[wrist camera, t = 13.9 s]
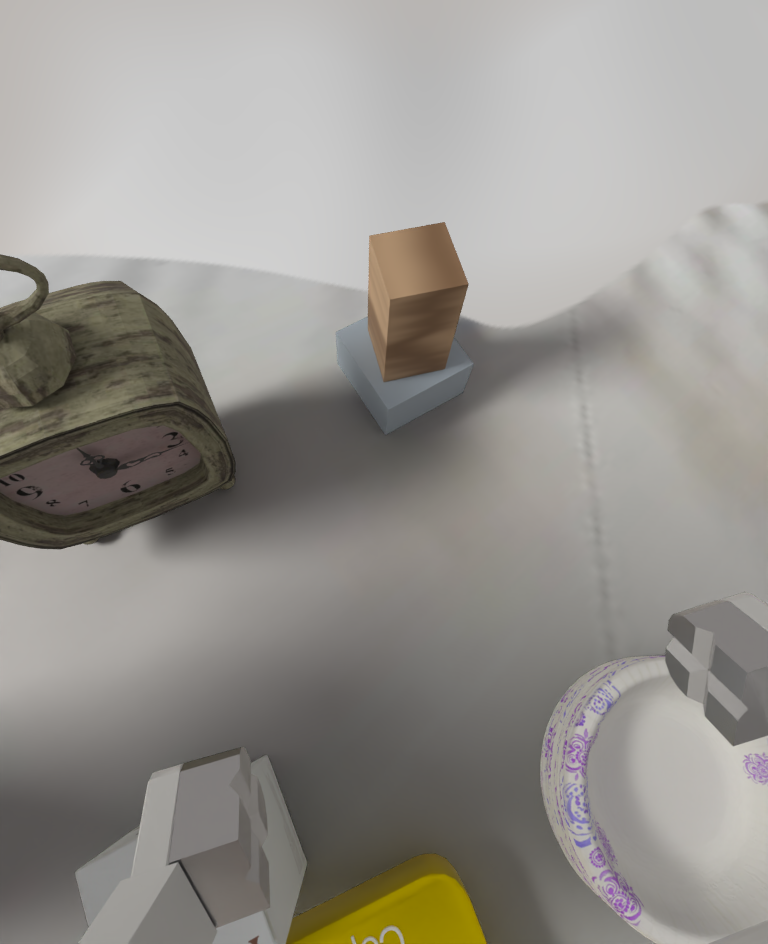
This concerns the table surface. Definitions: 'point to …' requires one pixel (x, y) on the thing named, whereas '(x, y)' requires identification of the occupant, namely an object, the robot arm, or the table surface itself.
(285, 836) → the supplement box
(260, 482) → the table surface
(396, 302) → the walnut pillar
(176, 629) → the table surface
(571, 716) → the paper bowls
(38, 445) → the tabletop clock
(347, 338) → the slate block
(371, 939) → the element tile
